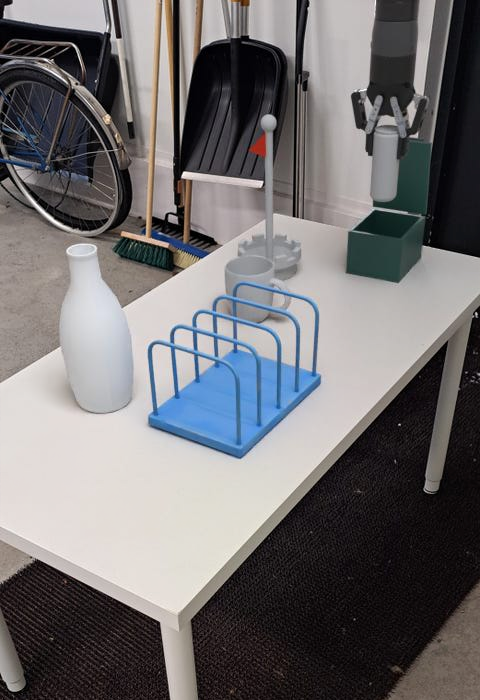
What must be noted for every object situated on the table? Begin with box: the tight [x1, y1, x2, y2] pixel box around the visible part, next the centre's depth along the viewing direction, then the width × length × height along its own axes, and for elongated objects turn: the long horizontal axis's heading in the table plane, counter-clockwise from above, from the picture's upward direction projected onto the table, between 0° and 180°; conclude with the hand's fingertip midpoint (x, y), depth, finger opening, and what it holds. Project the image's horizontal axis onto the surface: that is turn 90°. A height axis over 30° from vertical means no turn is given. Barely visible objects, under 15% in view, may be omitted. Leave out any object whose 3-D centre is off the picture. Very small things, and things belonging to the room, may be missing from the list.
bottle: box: [58, 243, 134, 414], centre depth 132 cm, size 11×11×25 cm
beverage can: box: [369, 124, 400, 202], centre depth 153 cm, size 5×5×12 cm
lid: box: [372, 136, 433, 216], centre depth 171 cm, size 14×11×5 cm
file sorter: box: [147, 281, 322, 458], centre depth 133 cm, size 25×17×15 cm
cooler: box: [345, 207, 427, 284], centre depth 174 cm, size 13×11×9 cm
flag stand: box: [236, 113, 302, 281], centre depth 167 cm, size 13×13×30 cm
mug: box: [224, 256, 292, 324], centre depth 157 cm, size 13×9×10 cm
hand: (385, 156), depth 152 cm, fingers closed on beverage can, 5 cm apart
